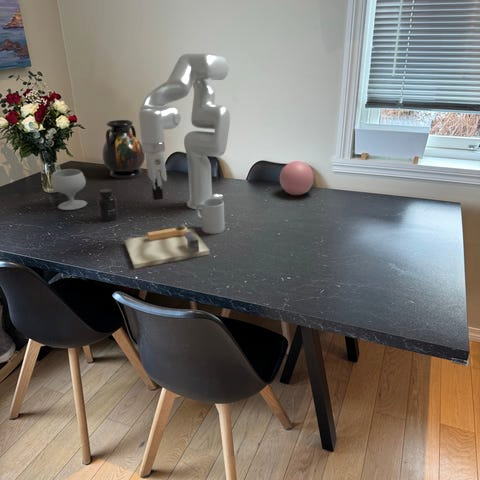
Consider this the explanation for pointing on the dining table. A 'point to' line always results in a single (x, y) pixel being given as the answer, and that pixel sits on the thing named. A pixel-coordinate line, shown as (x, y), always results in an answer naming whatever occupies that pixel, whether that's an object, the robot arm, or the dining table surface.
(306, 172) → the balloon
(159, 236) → the link
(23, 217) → the dining table surface
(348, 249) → the dining table surface
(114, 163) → the amphora vase
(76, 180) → the chalice
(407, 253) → the dining table surface
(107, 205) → the supplement bottle
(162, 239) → the pivot board
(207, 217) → the mug
